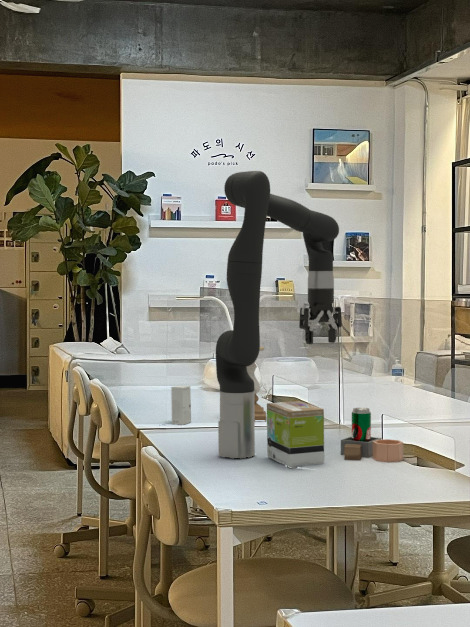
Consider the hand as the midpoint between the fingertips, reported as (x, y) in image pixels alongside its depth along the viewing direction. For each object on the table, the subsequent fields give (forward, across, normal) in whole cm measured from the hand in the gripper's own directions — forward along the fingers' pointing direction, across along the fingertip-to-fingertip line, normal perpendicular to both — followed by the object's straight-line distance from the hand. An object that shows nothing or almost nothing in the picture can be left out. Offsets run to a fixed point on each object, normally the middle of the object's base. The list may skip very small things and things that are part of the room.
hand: (320, 343), depth 276 cm
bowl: (+28, -7, -33) cm, 44 cm away
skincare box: (+28, -14, +51) cm, 60 cm away
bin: (+28, -7, -24) cm, 38 cm away
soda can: (+28, -7, -24) cm, 37 cm away
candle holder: (+28, +8, +44) cm, 53 cm away
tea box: (+28, -26, -19) cm, 43 cm away
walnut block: (+28, -14, -27) cm, 42 cm away
